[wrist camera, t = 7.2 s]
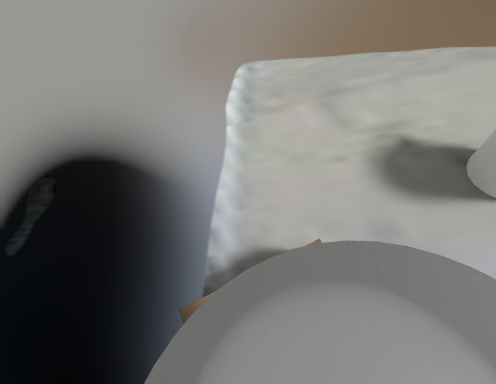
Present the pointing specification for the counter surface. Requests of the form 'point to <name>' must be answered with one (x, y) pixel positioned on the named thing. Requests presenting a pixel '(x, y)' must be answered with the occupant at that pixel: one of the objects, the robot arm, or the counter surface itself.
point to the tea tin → (341, 322)
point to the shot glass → (484, 166)
